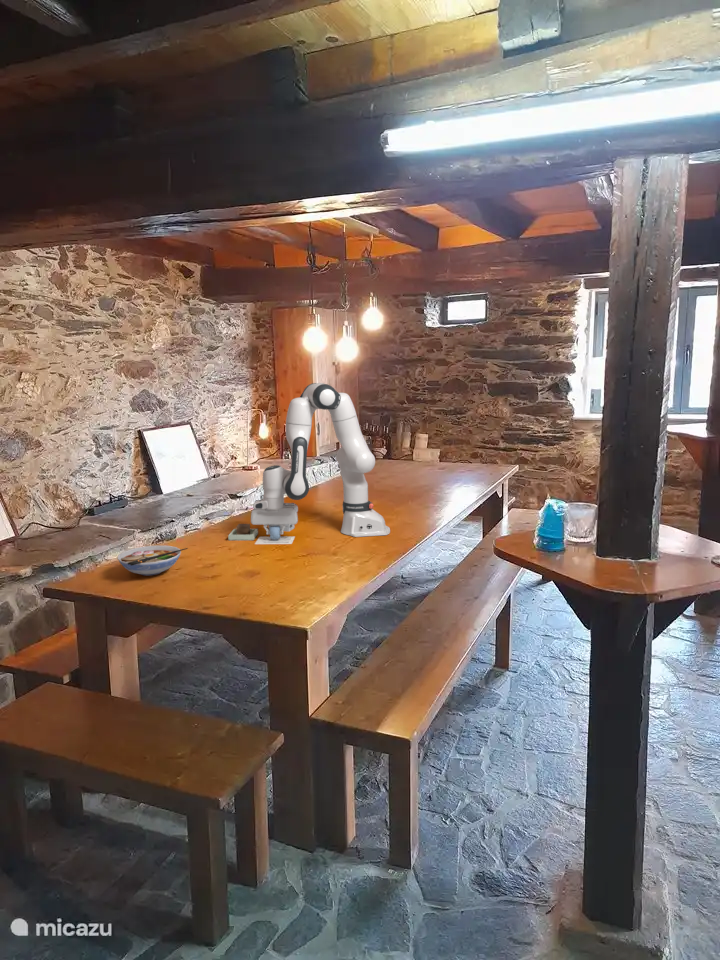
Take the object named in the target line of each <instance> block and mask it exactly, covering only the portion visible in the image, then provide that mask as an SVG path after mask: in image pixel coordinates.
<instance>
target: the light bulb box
mask: <svg viewBox="0 0 720 960" xmlns="http://www.w3.org/2000/svg"><path fill="white" fill-rule="evenodd" d="M270 526H274V525H268V526H267V528H268V529H269V530H270ZM278 526H280V530H282V528H283V527H282V525H278ZM295 528H296V527H295V524H286V526H285V528H284V530H283V532H291V531H293V530H294V529H295Z"/></svg>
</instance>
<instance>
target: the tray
mask: <svg viewBox="0 0 720 960" xmlns="http://www.w3.org/2000/svg"><path fill="white" fill-rule="evenodd" d="M258 535H259V528H250V535H237V529H236V528H233V530H232V531H230V533H229V534H228V541H238V542H239V541H245V542H246V541H254V540H255V539H256V537H257V536H258Z"/></svg>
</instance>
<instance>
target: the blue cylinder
mask: <svg viewBox="0 0 720 960" xmlns="http://www.w3.org/2000/svg"><path fill="white" fill-rule="evenodd" d="M269 537H270V538H271V539H279V538H280V537H281V534H280V526H278V525H274V526H270V534H269Z"/></svg>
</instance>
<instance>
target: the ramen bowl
mask: <svg viewBox="0 0 720 960" xmlns="http://www.w3.org/2000/svg"><path fill="white" fill-rule="evenodd" d="M188 549H189V548H188V547H185V548H182V549H180V548H179V547H177V546H171V545H159V544H158V545H156V544H155V545H146V546H145V545H144V546H141V547H134V548H131V549H128V550H125V551H122V552H121V553H119V554H118V555H117V560H118V562H119V563H120V565H122V567H123V568H125V570H127V571H129V572H131V573H132V574H138V575H142V576H146V577H147V576H148V577H149V576H156V575H159V574H161V573H162V572H165V571H167V570H169V569H170V568H172V567H173V566H174V565H175V564H176V563H177V561H178V560H179V558H180V556H181V554H182V551H185V550H188Z"/></svg>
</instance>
